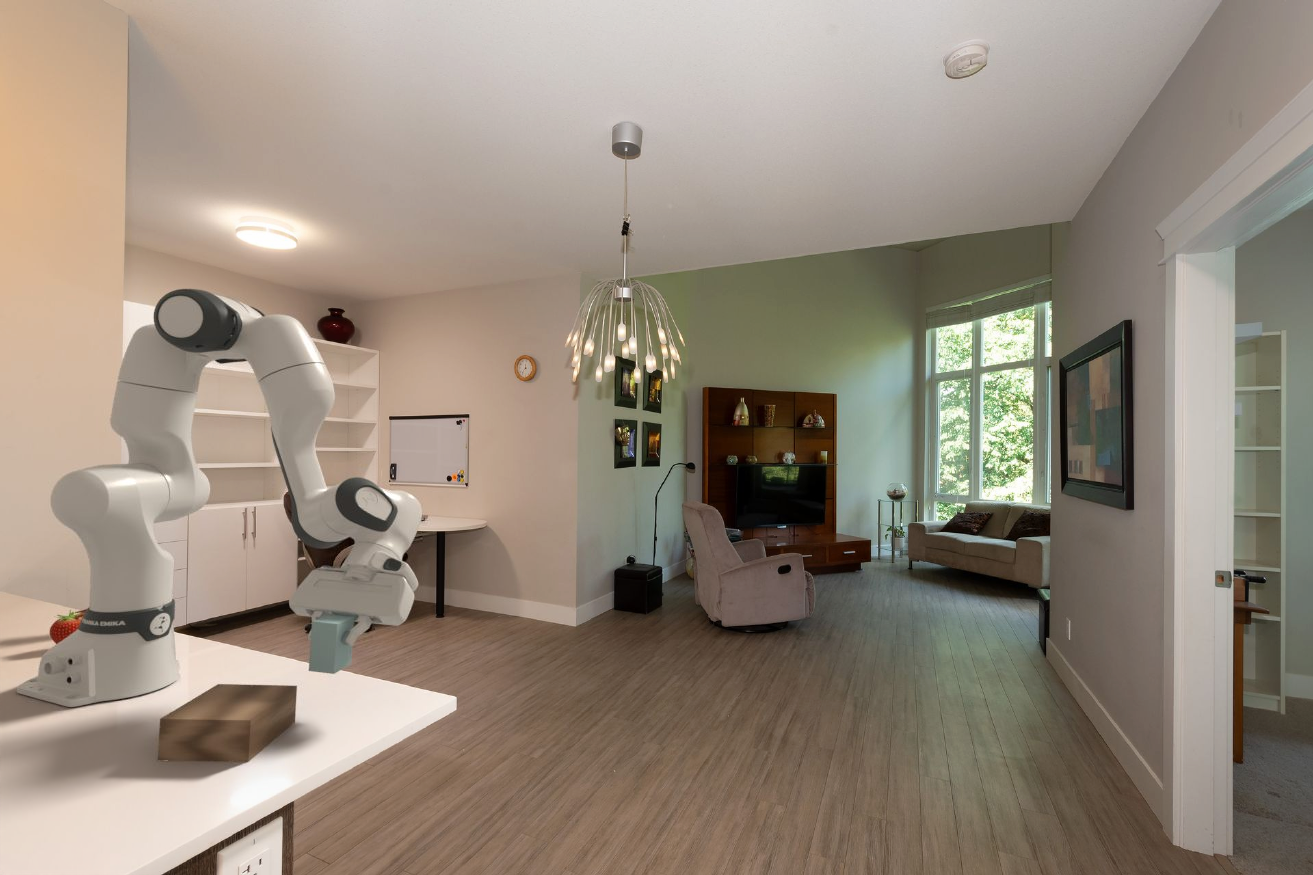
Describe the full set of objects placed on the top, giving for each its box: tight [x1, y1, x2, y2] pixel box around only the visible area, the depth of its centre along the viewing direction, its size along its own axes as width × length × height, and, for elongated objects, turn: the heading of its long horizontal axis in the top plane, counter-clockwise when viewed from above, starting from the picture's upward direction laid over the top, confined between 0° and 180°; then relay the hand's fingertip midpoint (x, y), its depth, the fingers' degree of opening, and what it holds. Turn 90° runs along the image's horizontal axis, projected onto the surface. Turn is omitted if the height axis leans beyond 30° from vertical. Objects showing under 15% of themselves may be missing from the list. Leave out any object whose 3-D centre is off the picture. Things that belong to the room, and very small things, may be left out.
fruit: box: [49, 609, 83, 645], centre depth 121 cm, size 5×5×8 cm
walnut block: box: [157, 683, 298, 763], centre depth 89 cm, size 12×12×6 cm
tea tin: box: [308, 614, 355, 675], centre depth 99 cm, size 4×4×8 cm
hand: (329, 641), depth 98 cm, fingers closed on tea tin, 4 cm apart
